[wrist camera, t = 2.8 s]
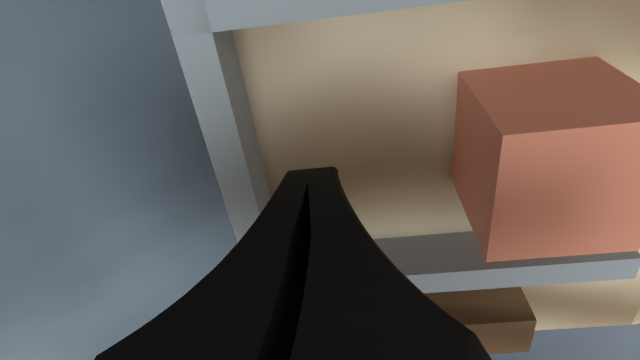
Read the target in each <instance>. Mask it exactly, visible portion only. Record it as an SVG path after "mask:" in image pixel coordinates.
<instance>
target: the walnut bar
mask: <svg viewBox="0 0 640 360" xmlns="http://www.w3.org/2000/svg"><path fill="white" fill-rule="evenodd" d="M424 294H425V295H426V296H427V297H429V298H430V299H431V300H432V301H433V302H434V303H436V304H437V305H438V306H439V307H440V308H442V309H443V310H444V311H446V312H447V313H448V314H449V315H451V316H452V317H453V318H455V319H456V320H457V321H459V322H460V323H461V324H463V325H464V326H466V327H467V328H468V329H470V330H471V331H473V332H474V333H475V334H476V335H477V337H478V338H479V340H480V342H481V343H482V345H483V346H484V348H485V350H486V351H487V353H488V354H496V353H513V352H529V349H530V346H531V342H532V338H533V334H534V330H535V326H536V322H537V320H536V318H535V315H534V313H533V311H532V309H531V307H530V305H529V303H528V301H527V299H526V297H525V295H524V293H523V290H522V288H521V287H508V288H494V289H479V290H465V291H451V292H437V293H424Z"/></svg>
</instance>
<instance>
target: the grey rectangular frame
mask: <svg viewBox="0 0 640 360" xmlns="http://www.w3.org/2000/svg"><path fill="white" fill-rule="evenodd" d="M462 1H470V0H161V3H162V7H163V10H164V13H165V16H166V19H167V22H168V26H169V29H170V32H171V35H172V38H173V42H174V45H175V48H176V51H177V54H178V57H179V61H180V64H181V67H182V70H183V73H184V77H185V80H186V83H187V86H188V89H189V92H190V96H191V99H192V102H193V105H194V108H195V111H196V115H197V118H198V121H199V124H200V127H201V131H202V134H203V137H204V140H205V143H206V146H207V150H208V153H209V156H210V159H211V162H212V165H213V169H214V172H215V175H216V178H217V181H218V185H219V188H220V191H221V194H222V197H223V200H224V204H225V207H226V210H227V213H228V216H229V219H230V223H231V226H232V229H233V232H234V235H235V239H236V242H237V243H238V242H239V241H240V239H241V238H242V237H243V236H244V234H245V233H246V232H247V231H248V229H249V228H250V227H251V225H252V224H253V223H254V222H255V220H256V219H257V217H258V216H259V215H260V213H261V212H262V210H263V209H264V207H265V206H266V204H267V203H268V202H269V200H270V198H271V194H270V190H269V186H268V182H267V177H266V173H265V169H264V164H263V160H262V156H261V152H260V147H259V143H258V139H257V135H256V130H255V126H254V122H253V118H252V113H251V109H250V105H249V100H248V96H247V92H246V88H245V83H244V79H243V75H242V71H241V66H240V62H239V58H238V54H237V49H236V45H235V41H234V37H233V32H232V30H237V29H245V28H253V27H261V26H269V25H277V24H285V23H293V22H301V21H309V20H317V19H325V18H333V17H341V16H349V15H357V14H365V13H373V12H382V11H390V10H398V9H406V8H414V7H422V6H430V5H438V4H446V3H454V2H462ZM373 240H374V241H375V243H376V244H377V245H378V246H379V248H380V249H381V250H382V251H383V252H384V254H385V255H386V256H387V257H388V258H389V259H390V260H391V262H392V263H393V264H394V265H395V266H396V267H397V268H398V269H399V270H400V271H401V272H402V273H403V274H404V275H405V276H406V277H407V278H408V279H409V280H410V281H411V282H412V283H413V284H414V285H415V286H416V287H417V288H418V289H420V290H421V291H422V292H423V293H437V292H451V291H465V290H479V289H494V288H508V287H522V286H536V285H551V284H565V283H579V282H594V281H608V280H622V279H635V277H636V275H637V272H638V270H639V268H640V253H639V252H638V251H629V252H615V253H602V254H589V255H575V256H562V257H549V258H535V259H522V260H509V261H495V262H486V261H485V258H484V256H483V254H482V251H481V249H480V246H479V244H478V242H477V239H476V237H475V235H474V232H473V231H468V232H455V233H443V234H431V235H418V236H406V237H394V238H382V239H373Z"/></svg>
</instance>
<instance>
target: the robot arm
mask: <svg viewBox="0 0 640 360" xmlns="http://www.w3.org/2000/svg"><path fill="white" fill-rule="evenodd" d="M94 360H491V358H490V356H489V355H488V353H487V351H486V350H485V348H484V346H483V345H482V343H481V342H480V340H479V338H478V337H477V335H476V334H475V333H474V332H473V331H471V330H470V329H468V328H467V327H466V326H464V325H463V324H461V323H460V322H459V321H457V320H456V319H455V318H453V317H452V316H451V315H449V314H448V313H447V312H446V311H444V310H443V309H442V308H440V307H439V306H438V305H437V304H436V303H434V302H433V301H432V300H431V299H430V298H429V297H427V296H426V295H425V294H424V293H423V292H422V291H421V290H420V289H418V288H417V287H416V286H415V285H414V284H413V283H412V282H411V281H410V280H409V279H408V278H407V277H406V276H405V275H404V274H403V273H402V272H401V271H400V270H399V269H398V268H397V267H396V266H395V265H394V264H393V263H392V262H391V260H390V259H389V258H388V257H387V256H386V255H385V254H384V252H383V251H382V250H381V249H380V248H379V246H378V245H377V244H376V243H375V241H374V240H373V239H372V237H371V236H370V234H369V233H368V232H367V230H366V229H365V227H364V226H363V224H362V223H361V221H360V220H359V218H358V216H357V215H356V213H355V211H354V210H353V208H352V206H351V204H350V202H349V201H348V199H347V197H346V195H345V192H344V190H343V188H342V185H341V182H340V179H339V175H338V169H336V168H335V167H334V166H331V167H321V168H310V169H300V170H289V171H288V172H287V173H286V174H285V175H284V177H283V179H282V181H281V182H280V184H279V186H278V187H277V189H276V191H275V192H274V194H273V195H272V197H271V198H270V200H269V202H268V203H267V204H266V206H265V207H264V209H263V210H262V212H261V213H260V215H259V216H258V217H257V219H256V220H255V222H254V223H253V224H252V225H251V227H250V228H249V229H248V231H247V232H246V233H245V234H244V236H243V237H242V238H241V239H240V241H239V242H238V243H237V244H236V245H235V247H234V248H233V249H232V250H231V251H230V252H229V253H228V254H227V256H226V257H225V258H224V259H223V260H222V261H221V262H220V263H219V264H218V265H217V266H216V267H215V268H214V269H213V270H212V271H211V272H210V273H209V274H208V275H206V276H205V277H204V278H203V279H202V280H201V281H200V282H199V283H197V284H196V285H195V286H194V287H193V288H192V289H191V290H190V291H188V292H187V293H186V294H185V295H184V296H183V297H181V298H180V299H179V300H177V301H176V302H175V303H174V304H172V305H171V306H170V307H169V308H167V309H166V310H165V311H163V312H162V313H160V314H159V315H158V316H156V317H155V318H154V319H152V320H151V321H149V322H148V323H147V324H145V325H144V326H142V327H141V328H139V329H138V330H136V331H135V332H133V333H132V334H130V335H129V336H127V337H125V338H124V339H122V340H121V341H119V342H118V343H116V344H115V345H113V346H111V347H110V348H108V349H107V350H105V351H104V352H102V353H100V354H99V355H97V356H96V357H95V359H94Z"/></svg>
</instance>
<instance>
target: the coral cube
mask: <svg viewBox="0 0 640 360" xmlns="http://www.w3.org/2000/svg"><path fill="white" fill-rule="evenodd" d="M452 182H453V185H454V187H455V189H456V192H457V194H458V196H459V199H460V201H461V204H462V206H463V208H464V211H465V213H466V216H467V218H468V220H469V223H470V225H471V227H472V230H473V232H474V235H475V237H476V239H477V242H478V244H479V246H480V249H481V251H482V254H483V256H484V258H485V261H486V262H495V261H509V260H522V259H535V258H549V257H562V256H575V255H589V254H602V253H615V252H629V251H638V250H639V248H640V83H638V82H637V81H635V80H634V79H632V78H631V77H629V76H627V75H626V74H624V73H623V72H621V71H620V70H618V69H616V68H615V67H613V66H612V65H610V64H609V63H607V62H605V61H604V60H602V59H601V58H599V57H598V56H594V57H585V58H576V59H567V60H558V61H549V62H540V63H531V64H522V65H513V66H504V67H495V68H486V69H477V70H468V71H459V72H458V85H457V101H456V118H455V134H454V150H453V167H452Z"/></svg>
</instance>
